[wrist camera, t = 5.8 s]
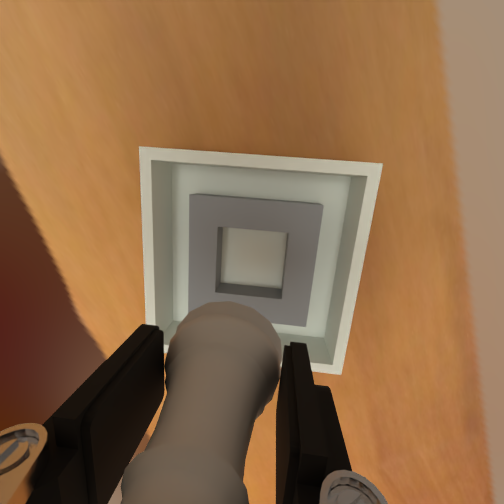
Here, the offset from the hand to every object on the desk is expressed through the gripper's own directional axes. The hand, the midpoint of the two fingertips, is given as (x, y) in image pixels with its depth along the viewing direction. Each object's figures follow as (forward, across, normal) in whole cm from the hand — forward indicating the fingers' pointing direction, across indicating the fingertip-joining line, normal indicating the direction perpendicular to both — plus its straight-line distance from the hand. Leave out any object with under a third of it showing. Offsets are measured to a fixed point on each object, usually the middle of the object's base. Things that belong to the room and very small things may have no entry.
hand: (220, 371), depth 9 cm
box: (+15, 0, 0) cm, 15 cm away
